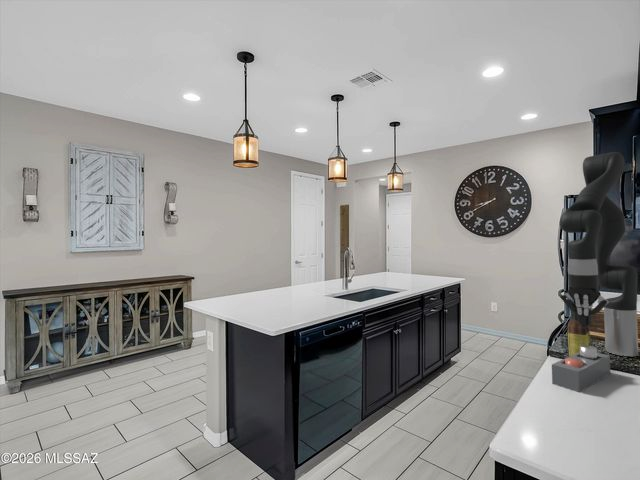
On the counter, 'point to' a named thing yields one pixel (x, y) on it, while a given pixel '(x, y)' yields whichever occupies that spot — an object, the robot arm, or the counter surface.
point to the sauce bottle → (577, 334)
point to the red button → (574, 362)
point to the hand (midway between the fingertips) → (585, 326)
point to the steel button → (588, 352)
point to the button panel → (580, 372)
